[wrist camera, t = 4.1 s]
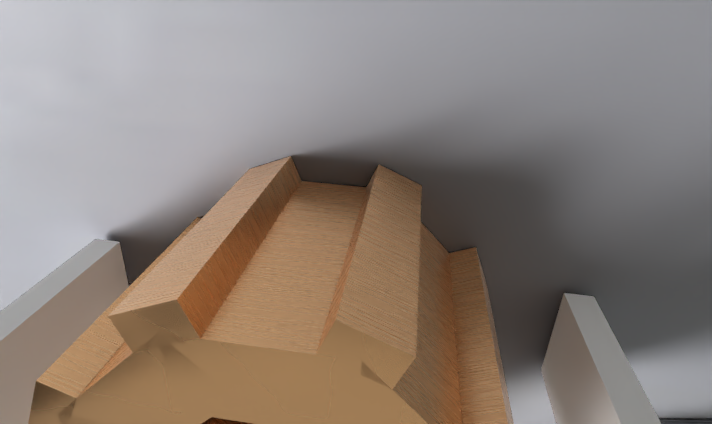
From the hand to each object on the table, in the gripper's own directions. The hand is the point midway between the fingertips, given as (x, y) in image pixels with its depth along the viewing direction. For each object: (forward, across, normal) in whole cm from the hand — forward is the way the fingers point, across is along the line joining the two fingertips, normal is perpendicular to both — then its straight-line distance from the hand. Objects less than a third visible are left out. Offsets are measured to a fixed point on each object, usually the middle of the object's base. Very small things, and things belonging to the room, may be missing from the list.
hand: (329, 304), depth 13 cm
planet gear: (0, 0, 0) cm, 0 cm away
